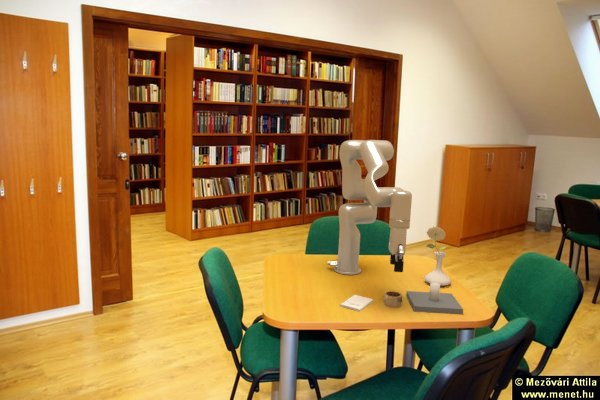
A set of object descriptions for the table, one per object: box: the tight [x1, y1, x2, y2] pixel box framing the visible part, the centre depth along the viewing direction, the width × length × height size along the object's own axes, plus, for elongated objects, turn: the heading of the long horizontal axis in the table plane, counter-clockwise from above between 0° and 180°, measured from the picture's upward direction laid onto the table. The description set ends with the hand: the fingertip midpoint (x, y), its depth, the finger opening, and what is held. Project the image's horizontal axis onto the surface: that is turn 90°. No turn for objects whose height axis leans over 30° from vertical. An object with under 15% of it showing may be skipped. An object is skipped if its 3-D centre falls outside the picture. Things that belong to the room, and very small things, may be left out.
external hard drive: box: [339, 294, 374, 312], centre depth 186 cm, size 2×8×12 cm
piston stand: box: [405, 282, 464, 315], centre depth 188 cm, size 18×16×8 cm
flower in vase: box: [423, 226, 452, 287], centre depth 212 cm, size 13×11×25 cm
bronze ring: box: [383, 290, 404, 309], centre depth 187 cm, size 7×7×4 cm
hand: (396, 267), depth 185 cm, fingers open, 9 cm apart
